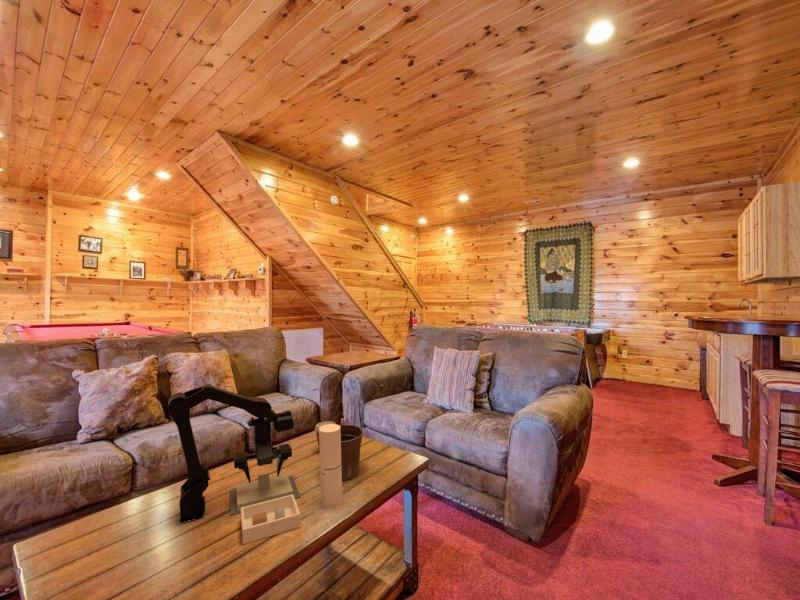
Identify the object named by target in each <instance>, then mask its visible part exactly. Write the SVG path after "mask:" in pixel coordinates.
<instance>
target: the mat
mask: <svg viewBox="0 0 800 600" xmlns="http://www.w3.org/2000/svg"><path fill="white" fill-rule="evenodd" d="M288 478H289V481H290V483H291V486H292V489H293V495H294V498H295V500H296V499H301V495H300V492H299V488H298V486H297V484H296V481H295V478H294V476H293V475H288ZM229 511H230V512H229V513H230V515H229V516H230V517H231V516H235V515H239V514H241V510H240V511H237V495H236V488H234V489H230V490H229Z"/></svg>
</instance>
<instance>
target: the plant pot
mask: <svg viewBox="0 0 800 600" xmlns="http://www.w3.org/2000/svg"><path fill="white" fill-rule="evenodd" d="M338 425H339V426H340V429H341V469H342V482H343V481H344V482H345V481H349V479H353V478H355V477H357V476H358V475H359V472H360V460H361V459H360V457H361V445H362V442H363V435H364V430H363V428H362V427H360V426H358V425H354V424H338Z"/></svg>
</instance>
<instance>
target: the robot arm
mask: <svg viewBox="0 0 800 600" xmlns="http://www.w3.org/2000/svg"><path fill="white" fill-rule="evenodd" d="M208 400H211V401H215V402H218V403H221V404H225V405H227V406H230V407H234V408H237V409H240V410H244V411H245V412H246V413H248V414H250V415H252V416H251V418H250V419H249V420H248V421H246V424H247V425H248V427H253V448H254V450H253V451H254V452H253V454H247V452H246V451H243V452H240V453H239V452H238V453H235V454H234V455H233V468H234V469H238V470H242V471H243V472H244V473H245V476H246V479H247V482H249V483H251V481H252V479H251V474H250V468H249V462H251V461H256V463H257V466H258V467H263V466H265V465H271V464H273V462H274V460H276V461H277V462H276V476H277V477H278V476H279V475H280V473H281V469H282V466H283V464H284V462H285V461H287V460H289V458H290V457H292V456H293V450H292V447H291V445H290V444H289V443H283V444H280V445H278V446H273V444H272V431H273V432H274V431H275V433H277V434H278V433H282V432H283V433H284V432H287V431H291V430H293V429H294V427H295V425H294V424H295V423H294V419H293V415H292V411H291V410H290V409H289V410H285V411H282V412H281V411H280V412H278V413H277V412H275V411H274V410H273V409H272V405H271V403H270V402H269V401H268V399H266V398H264V397H258V396H257V397H256V396H245V395H241V394H239V393H236V392H232V391H230V390H226V389H223V388H219V387H217V386H214V385H212V384H210V383H209V384H208V383H207V384H204V385H202V386H199V387H197V388H196V387H195V388H193V389H190V390H186V391H184V392H176V393H173V394H172V395H171V396H170V398H168V403H167V410H168V414H169V415H170V418H171V419H172V421H173V422H174V424H175V425H176V428H177V430H178V436H179V440H180V443H181V446H182V447H181V448H182V452H183V455H184V459H185V464H186V469H187V470H186V471H187V479H186V481H184V482H183V484H182V485H181V486H180V498H179V514H180V515H179V522H184V521H188V520H192V521H194V520H193V519H195V520H200V519H203V518H204V514H205V512H206V496H205V495H204V493H205V491H206V490H207V489H208V487H209V481H211V475H210V474H211V473H210V469H208V468H209V467H208V462H207V461H206V460H205V461H204V462H202V461H201V458H200V455H199V452H198V451H199V450H198V448H197V442H196V440H195V436H194V432H193V427H192V423H191V410H190V409H192V408H194V407H196V406H198V405H200V404H201V403H203V402H205V401H208ZM188 522H189V521H188ZM184 523H185V522H184Z"/></svg>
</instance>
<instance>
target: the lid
mask: <svg viewBox="0 0 800 600" xmlns="http://www.w3.org/2000/svg"><path fill="white" fill-rule="evenodd" d="M288 477H289V475H288V473H286V472H285V473H281V474H279V476H278V477H277V475H274V476H270V475H269V473H264V474H259V475H257V479H255V480H251V483H249V481H247V482H243V483H238V484H236V485H235V489H236V495H237V511H240V510H241V507H245V506H249V505H253V504H257V503H261V502H265V501H269V500H273V499H277V498H280V497H284V496H288V495H292V494H293V489H292V486H291V483H290V481H289V478H288Z"/></svg>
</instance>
